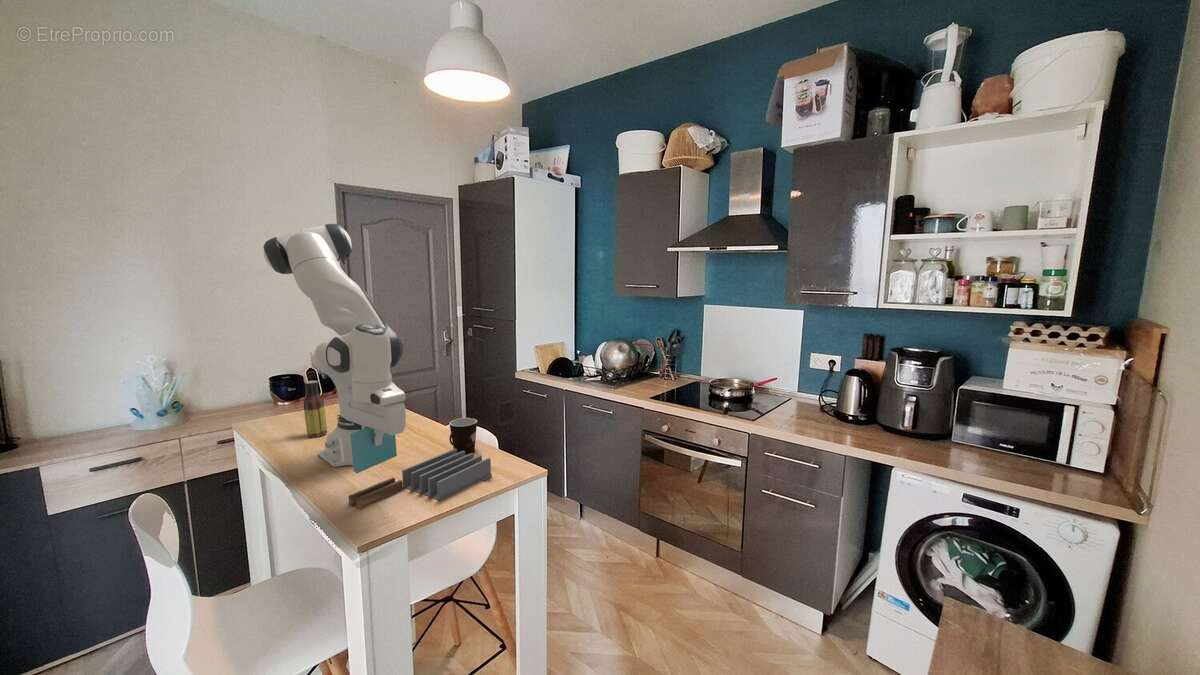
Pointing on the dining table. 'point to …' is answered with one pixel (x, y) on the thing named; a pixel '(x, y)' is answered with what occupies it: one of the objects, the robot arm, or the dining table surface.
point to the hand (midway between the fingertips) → (373, 443)
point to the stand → (375, 493)
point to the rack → (446, 474)
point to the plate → (371, 449)
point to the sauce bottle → (314, 410)
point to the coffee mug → (463, 434)
